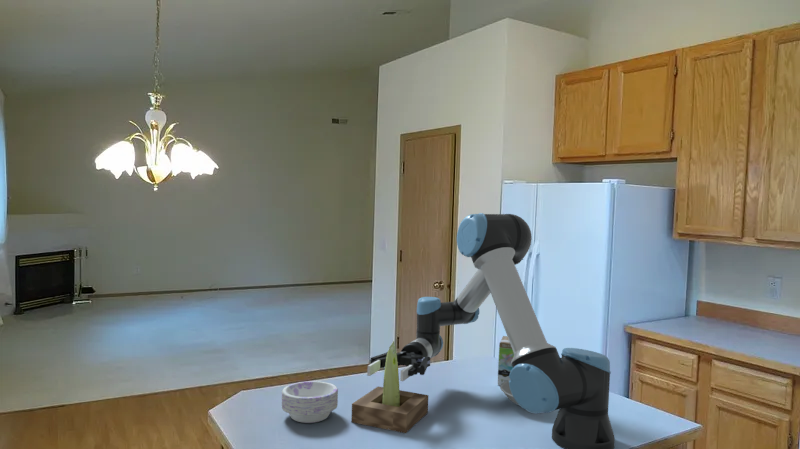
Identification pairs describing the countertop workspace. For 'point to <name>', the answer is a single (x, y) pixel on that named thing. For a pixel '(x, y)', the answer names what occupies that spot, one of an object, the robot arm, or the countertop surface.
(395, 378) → the tube
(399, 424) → the socket block
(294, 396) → the paper bowls
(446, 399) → the countertop surface
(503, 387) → the dish
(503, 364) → the tea box
